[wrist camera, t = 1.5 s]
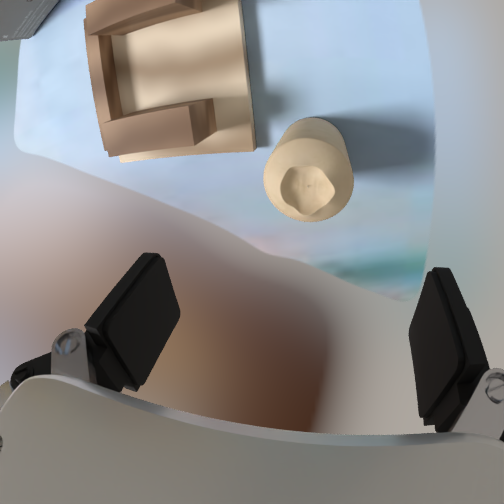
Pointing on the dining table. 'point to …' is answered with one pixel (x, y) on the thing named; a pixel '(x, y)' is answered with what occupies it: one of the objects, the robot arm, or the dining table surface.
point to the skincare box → (22, 17)
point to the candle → (309, 171)
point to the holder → (169, 77)
